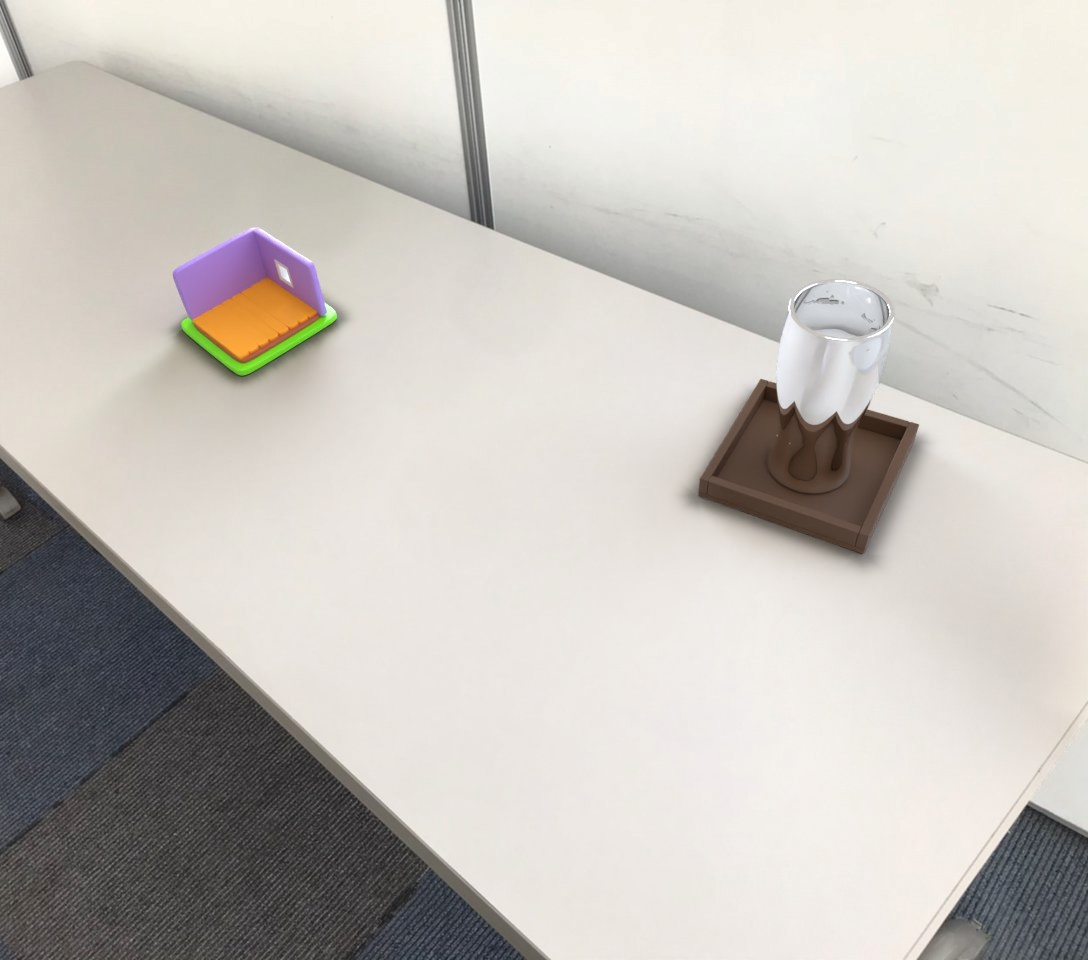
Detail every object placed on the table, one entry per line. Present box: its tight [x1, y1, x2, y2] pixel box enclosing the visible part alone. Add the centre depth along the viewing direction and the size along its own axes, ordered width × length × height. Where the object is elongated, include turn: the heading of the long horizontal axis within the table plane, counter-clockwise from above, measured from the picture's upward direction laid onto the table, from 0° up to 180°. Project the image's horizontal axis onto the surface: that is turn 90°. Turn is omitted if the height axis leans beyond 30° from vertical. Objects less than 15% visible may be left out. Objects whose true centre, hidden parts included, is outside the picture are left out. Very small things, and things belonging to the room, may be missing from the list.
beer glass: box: [767, 278, 896, 494], centre depth 69 cm, size 7×7×15 cm
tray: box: [697, 378, 920, 555], centre depth 74 cm, size 12×12×2 cm
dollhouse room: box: [172, 227, 338, 377], centre depth 94 cm, size 12×12×7 cm
